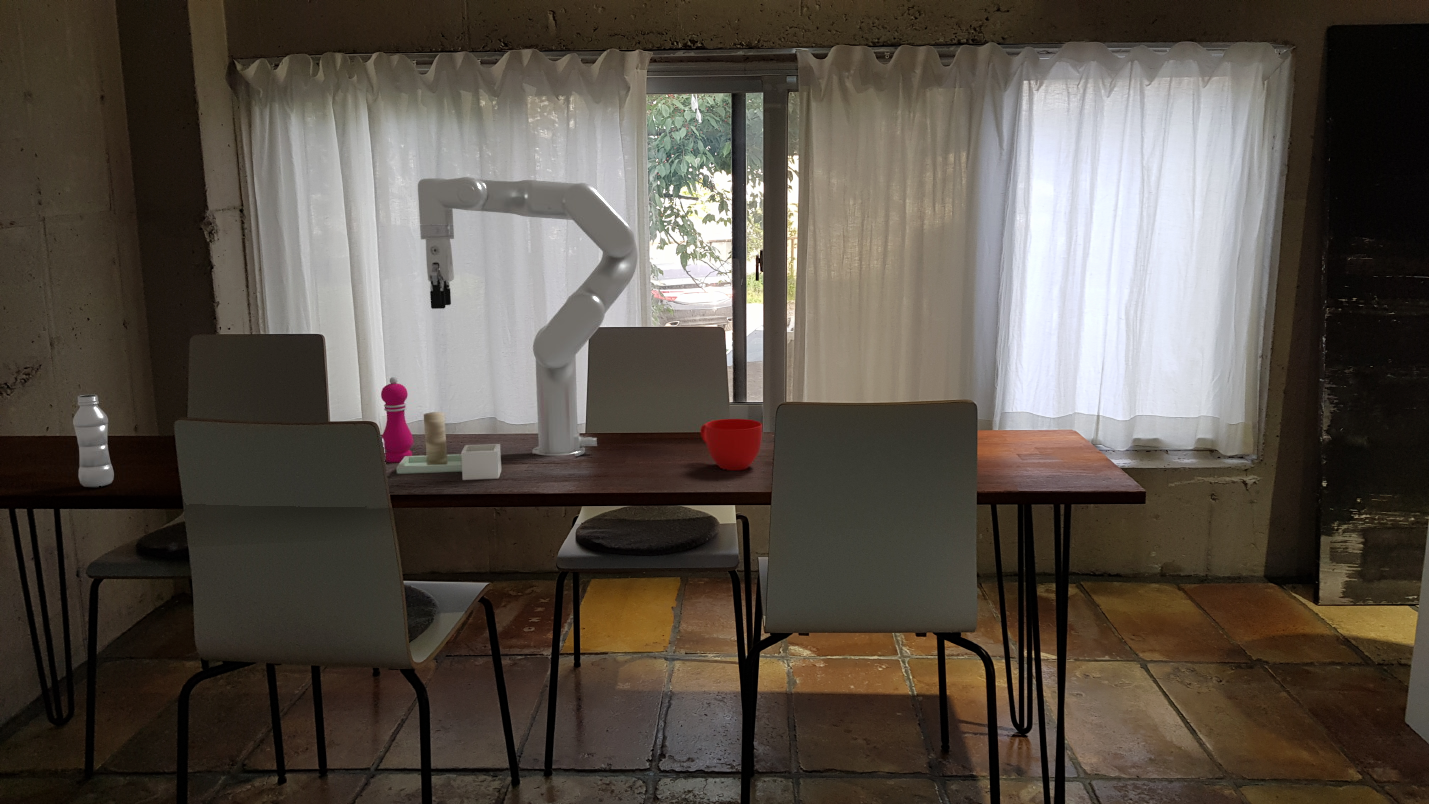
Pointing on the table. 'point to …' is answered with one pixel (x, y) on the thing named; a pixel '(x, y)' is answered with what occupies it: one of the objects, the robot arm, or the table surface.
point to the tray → (420, 465)
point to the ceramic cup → (733, 442)
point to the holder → (481, 461)
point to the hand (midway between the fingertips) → (441, 306)
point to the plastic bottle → (92, 443)
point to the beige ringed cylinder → (435, 438)
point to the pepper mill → (396, 422)
